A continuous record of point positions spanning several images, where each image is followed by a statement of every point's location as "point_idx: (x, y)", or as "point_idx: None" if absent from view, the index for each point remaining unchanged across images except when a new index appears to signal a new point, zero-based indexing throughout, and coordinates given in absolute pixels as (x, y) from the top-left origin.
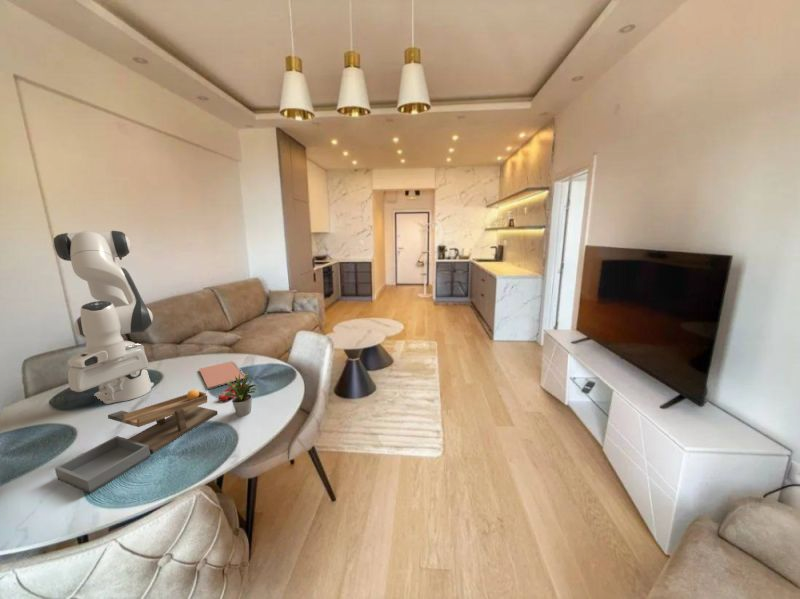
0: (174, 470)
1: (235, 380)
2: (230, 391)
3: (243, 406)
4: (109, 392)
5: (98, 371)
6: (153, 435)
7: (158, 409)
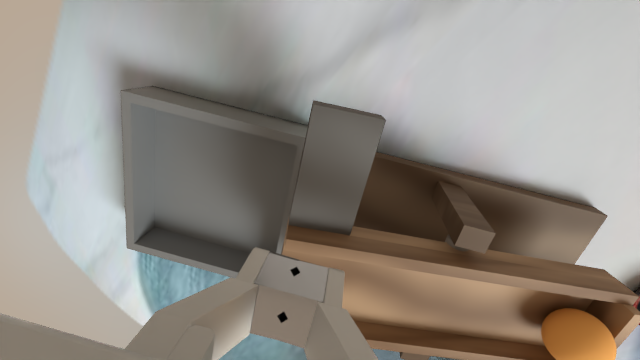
0: (255, 342)
1: None
2: None
3: None
4: (252, 251)
5: None
6: (364, 222)
7: (424, 273)
